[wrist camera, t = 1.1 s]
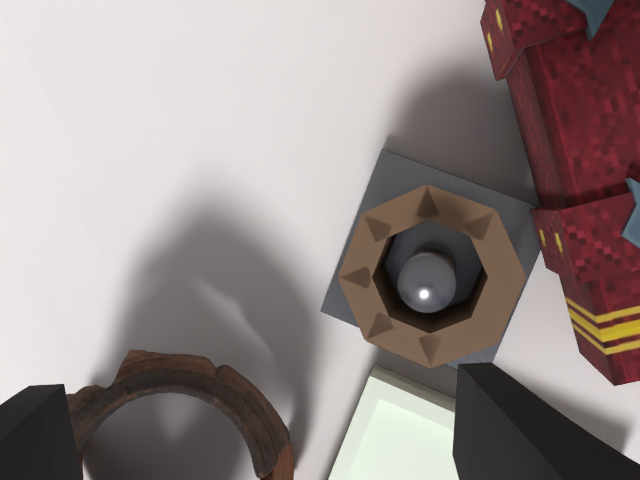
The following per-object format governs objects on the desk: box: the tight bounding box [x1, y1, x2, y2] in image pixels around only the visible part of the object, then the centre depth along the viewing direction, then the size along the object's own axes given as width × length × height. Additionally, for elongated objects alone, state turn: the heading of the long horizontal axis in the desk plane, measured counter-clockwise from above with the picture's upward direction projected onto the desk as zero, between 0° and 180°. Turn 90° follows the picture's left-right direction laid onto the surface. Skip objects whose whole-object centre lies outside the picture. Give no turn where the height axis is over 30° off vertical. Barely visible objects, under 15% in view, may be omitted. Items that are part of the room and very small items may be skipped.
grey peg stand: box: [321, 149, 541, 370], centre depth 20 cm, size 6×6×6 cm
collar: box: [338, 184, 526, 368], centre depth 20 cm, size 5×5×4 cm
